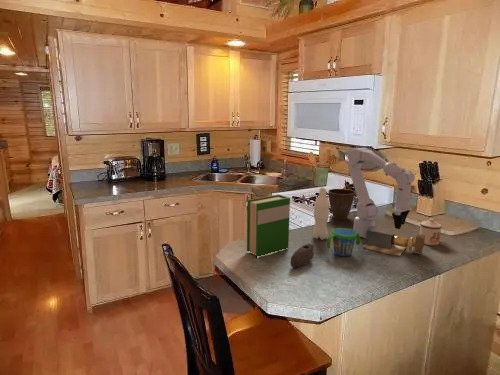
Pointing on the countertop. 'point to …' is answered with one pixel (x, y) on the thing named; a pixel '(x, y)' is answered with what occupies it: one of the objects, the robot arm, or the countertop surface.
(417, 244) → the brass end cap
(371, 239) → the gunmetal housing
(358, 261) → the countertop surface
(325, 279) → the countertop surface
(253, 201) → the hardback book
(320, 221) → the water bottle
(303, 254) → the perforated stone tool
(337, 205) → the plant pot
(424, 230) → the teacup with lid
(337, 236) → the snack cup
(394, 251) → the mounting board
